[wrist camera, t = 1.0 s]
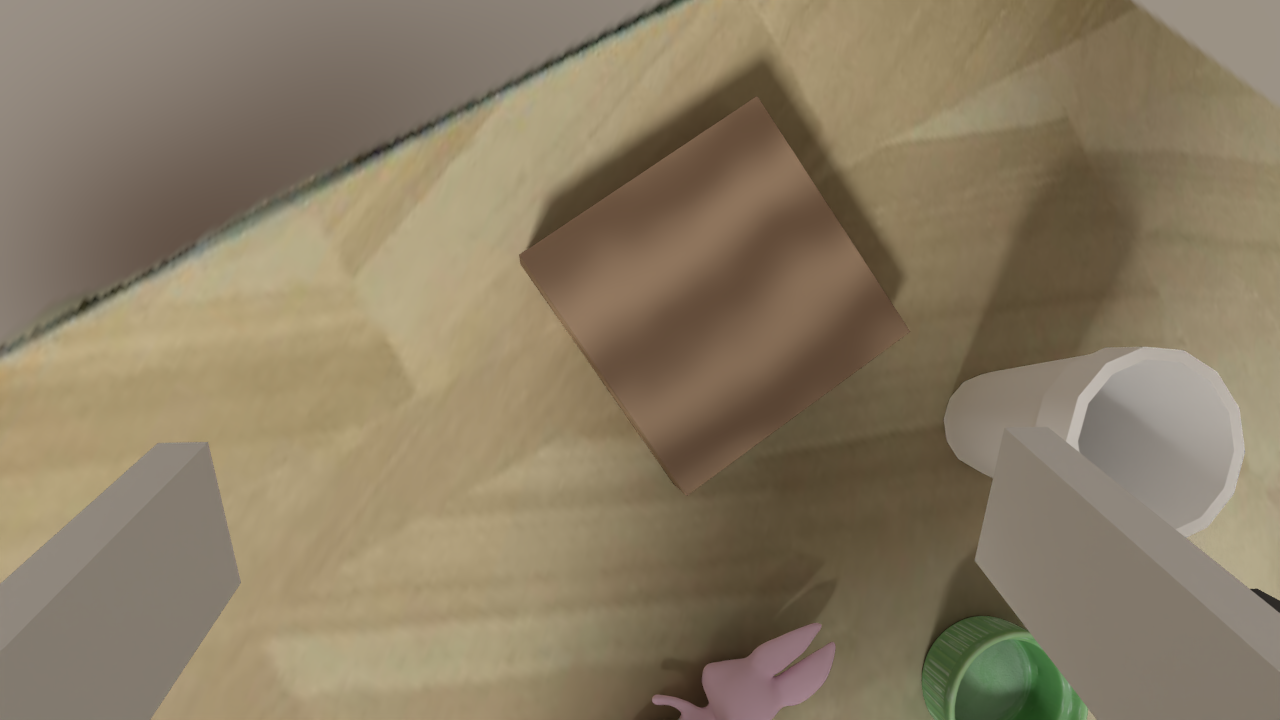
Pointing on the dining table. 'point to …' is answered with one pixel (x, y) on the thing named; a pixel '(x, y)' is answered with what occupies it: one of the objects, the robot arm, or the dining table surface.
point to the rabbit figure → (760, 680)
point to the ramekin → (995, 676)
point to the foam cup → (1117, 424)
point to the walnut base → (715, 295)
